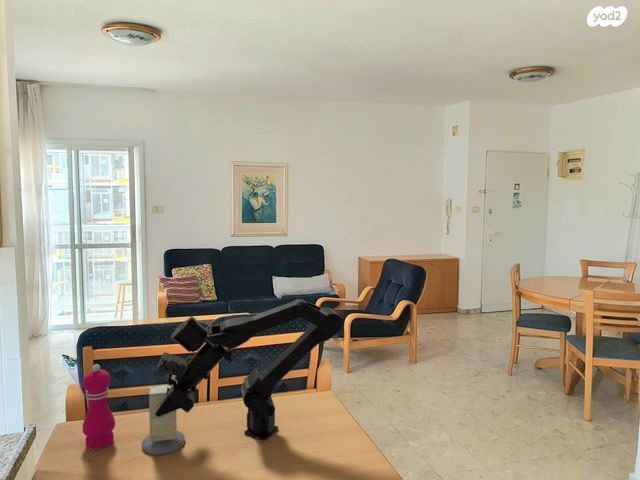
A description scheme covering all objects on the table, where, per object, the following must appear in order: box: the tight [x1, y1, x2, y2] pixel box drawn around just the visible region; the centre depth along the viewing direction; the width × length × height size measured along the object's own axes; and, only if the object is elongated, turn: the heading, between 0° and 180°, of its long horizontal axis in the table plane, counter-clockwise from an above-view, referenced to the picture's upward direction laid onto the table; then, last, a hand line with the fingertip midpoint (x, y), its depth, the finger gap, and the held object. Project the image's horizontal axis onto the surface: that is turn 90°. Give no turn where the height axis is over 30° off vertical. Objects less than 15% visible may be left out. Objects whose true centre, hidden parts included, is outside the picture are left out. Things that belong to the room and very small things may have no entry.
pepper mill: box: [82, 363, 116, 450], centre depth 116 cm, size 7×7×20 cm
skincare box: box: [148, 384, 178, 442], centre depth 116 cm, size 6×4×12 cm
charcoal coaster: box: [141, 430, 186, 456], centre depth 117 cm, size 10×10×1 cm
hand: (157, 410), depth 116 cm, fingers closed on skincare box, 4 cm apart
